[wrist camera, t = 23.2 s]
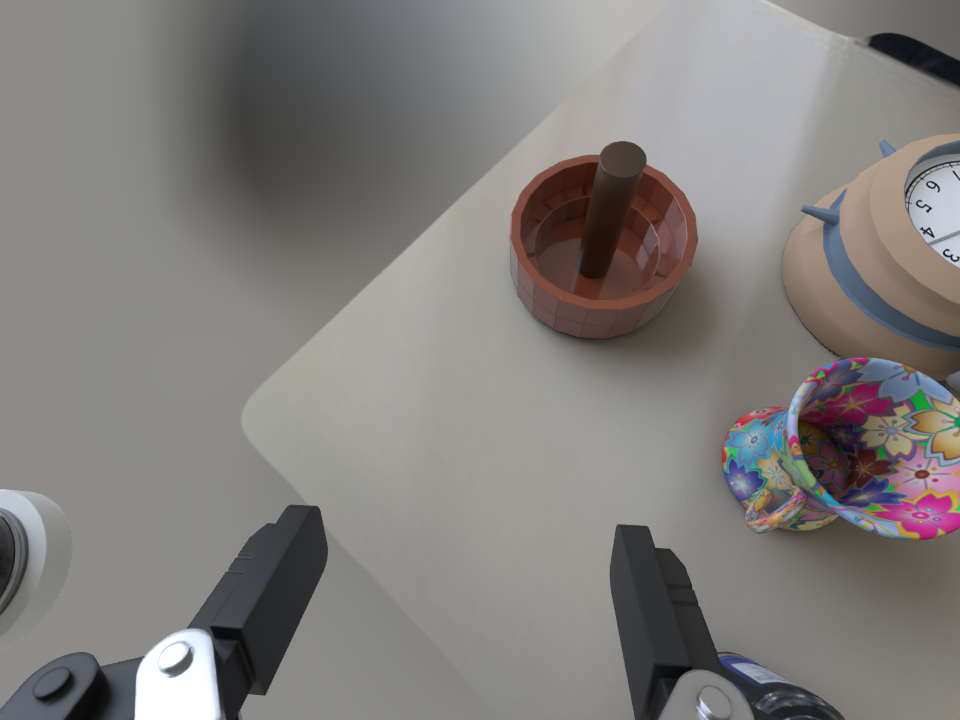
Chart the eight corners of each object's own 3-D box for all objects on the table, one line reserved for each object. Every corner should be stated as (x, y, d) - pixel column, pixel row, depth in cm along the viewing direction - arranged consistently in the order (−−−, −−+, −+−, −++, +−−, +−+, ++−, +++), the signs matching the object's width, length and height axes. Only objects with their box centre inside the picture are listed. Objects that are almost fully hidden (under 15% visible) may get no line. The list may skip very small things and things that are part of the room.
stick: (576, 278, 39) (600, 177, 28) (575, 249, 40) (598, 141, 29) (610, 279, 39) (648, 177, 28) (609, 250, 40) (645, 140, 29)
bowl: (507, 339, 39) (506, 307, 33) (514, 203, 43) (513, 154, 38) (678, 344, 37) (706, 312, 32) (665, 204, 42) (688, 153, 36)
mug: (776, 381, 36) (876, 325, 26) (877, 484, 33) (1035, 465, 23) (655, 473, 34) (712, 450, 24) (750, 590, 31) (859, 618, 21)
